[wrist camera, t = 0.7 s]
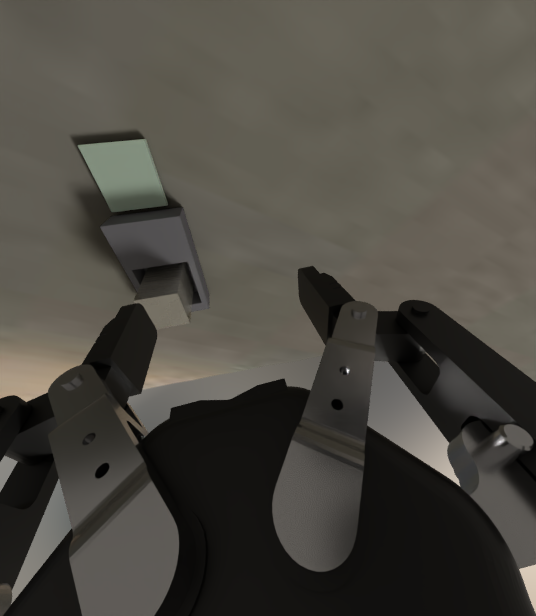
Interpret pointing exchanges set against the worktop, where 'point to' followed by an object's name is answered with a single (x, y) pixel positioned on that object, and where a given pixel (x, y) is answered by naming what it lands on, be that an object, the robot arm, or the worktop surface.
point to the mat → (125, 174)
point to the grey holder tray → (156, 246)
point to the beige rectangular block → (167, 295)
